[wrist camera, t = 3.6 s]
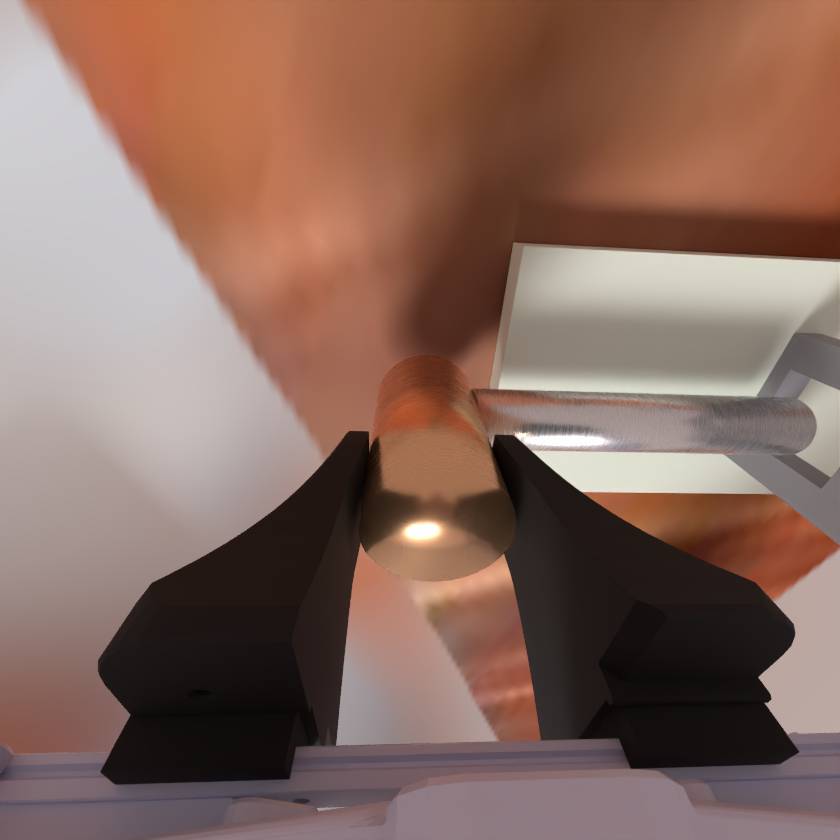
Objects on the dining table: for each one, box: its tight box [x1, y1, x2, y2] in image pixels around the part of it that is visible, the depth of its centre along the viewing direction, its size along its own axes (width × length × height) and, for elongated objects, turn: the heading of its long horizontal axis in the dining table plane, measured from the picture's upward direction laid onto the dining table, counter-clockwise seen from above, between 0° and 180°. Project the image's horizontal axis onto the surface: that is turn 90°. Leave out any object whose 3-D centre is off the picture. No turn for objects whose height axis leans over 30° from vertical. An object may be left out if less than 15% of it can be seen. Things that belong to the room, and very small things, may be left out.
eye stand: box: [489, 243, 840, 545], centre depth 15 cm, size 12×20×8 cm, turn 87°
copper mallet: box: [359, 356, 817, 581], centre depth 12 cm, size 4×17×7 cm, turn 87°
